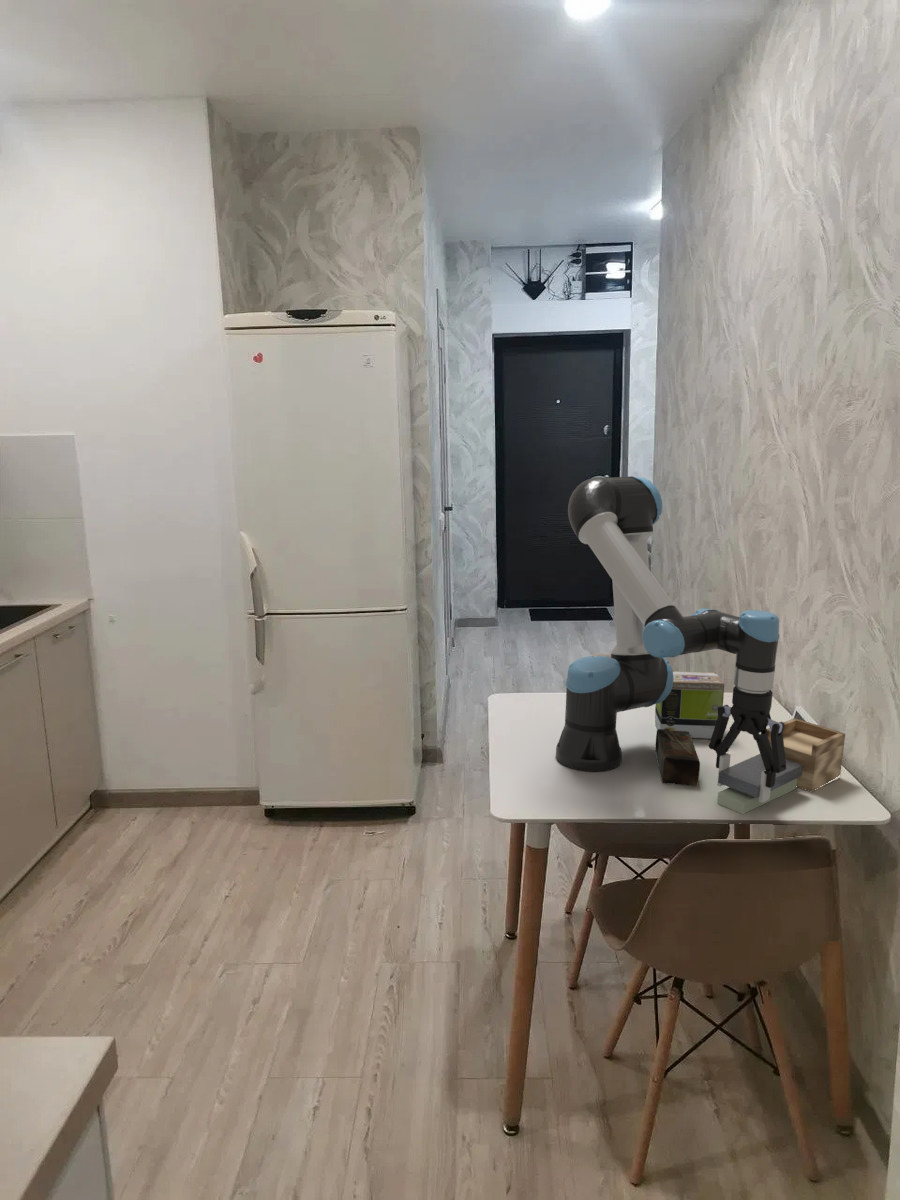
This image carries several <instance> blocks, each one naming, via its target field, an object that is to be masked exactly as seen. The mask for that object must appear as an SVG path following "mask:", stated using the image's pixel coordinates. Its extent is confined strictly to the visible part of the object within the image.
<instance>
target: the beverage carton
mask: <svg viewBox="0 0 900 1200" xmlns="http://www.w3.org/2000/svg"><path fill="white" fill-rule="evenodd" d="M693 742H694V741H693V738H691V737H690V733H689V732H687V731H675V730H670V729H668V728H664V729H656V735H655V748H654V752H655V756H656V757H655V758H656V761H657V765H658V771H659V775H660V779H661V783H662V784H670V785H679V786H687V787H688V786H689V787H690V786H691V787H697V786H698V784H699V778H700V770H701V762H700V759H699V756H698V755H699V754H698V753H697V751H696V747H695V745H694V743H693Z"/></svg>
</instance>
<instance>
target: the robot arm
mask: <svg viewBox="0 0 900 1200" xmlns="http://www.w3.org/2000/svg"><path fill="white" fill-rule="evenodd" d="M660 493H661V492H660V490H659V489H658V488H657V486H656V485H655V484H654V483H653V482H652V481H651V480H650V479H647V478H645V477H640V476H633V475H631V476H628V475H627V476H615V477H593V478H592V477H591V478H588V479H587V480H585V481H582V482H581V483H580V484H579V485H577V486H576V488H575V489H574V490H573V491H572V493H571V495H570V497H569V501H568V505H567V506H568V507H567V516H568V521H569V524H570V526H571V528H572V530H573V532H574V534H575V535H576V537H577V539H578V540H579V541H580V543H582V544H584V545H588V547H589V548H590V549H591V551H592V552H593V554H594V555H595V557H596V558H597V560H598V561H599V562H600V564H601V565H602V567H603V569H605V571H606V573H607V574H608V576H609V577H610V579H611V580H612V593H613V608H614V621H615V623H614V624H615V636H616V638H615V639H616V645H615V646H614V647H613V648H612V649H611V651H610V656H605V655H598V656H597V655H596V656H594V655H590V656H585V657H581V658H578V659H576V660H574V661H573V662H572V663H571V664H570V665H569V666H568V669H567V676H566V680H565V685H566V688H565V689H566V690H565V691H566V692H565V693H566V694H565V711H564V712H565V713H564V715H565V716H564V717H565V719H564V725H563V728H562V732H561V734H560V737H559V740H558V741H557V745H556V747H555V758H556V760H557V761H558V762H559V763H560V764H562V765H563V766H566V767H567V768H571V769H574V770H580V771H585V772H602V771H603V772H605V771H610V770H614V769H616V768H617V767H619V766H620V765H621V764H622V761H623V749H622V747H621V746H620V741H619V737H618V733H617V718H618V717H617V715H618V713H620V712H625V711H630V710H634V709H640V708H648V707H652V706H654V705H656V704H657V703H660V702H662V701H664V700H665V699H666V697H667V696H668V695H669V694H670V692H671V690H672V686H673V679H674V678H673V668H672V665H671V664H669V660H668V659H667V658H675V657H679V656H683V655H687V654H693V653H701V652H707V651H711V650H720V651H724V652H727V653H729V654H733V655H735V666H734V676H733V684H734V687H732V688H733V690H732V699H731V704H732V706H729V705H728V704H723V706H721V707H718V718H717V722H716V725H715V728H714V731H713V734H712V737H711V739H710V740H709V744H708V747H709V749H710V750H713V751H715V753H716V761H715V767H716V769H718V772H717V773H718V774H717V775H718V776H717V780H718V779H719V772H720V771H722V770H724V769H727V768H729V767H731V766H730V765H731V764H730V763H731V757H732V756H731V755H732V754H731V753H729V752H730V750H729V749H730V748H731V747H732V745H733V744H734V742H735V741H736V739H737V737H738V736H739V735H740V733H741V732H743V733H745V732H746V733H747V734H749V735H752V737H753V740H754V741H755V742H756V744H757V748H758V750H759V754H761V757H762V760H763V763H764V767H765V770H764V771H762V774H761V784H760V796H759V802H761V803H763V802H765V801H767V800H769V799H770V790H771V787H773V786H774V785H775V778H776V773H780V772H782V771H784V770H786V759H785V750H784V741H783V730H784V723H783V721H779V722H778V721H776V720H774V719H772V717H771V714H770V712H771V709H772V704H773V703H772V702H773V696H774V695H773V691H772V689H774V682H775V681H774V680H775V673H776V659H777V652H778V645H779V639H780V619H779V617H778V615H776V614H775V613H773V612H770V611H768V610H767V611H764V610H759V609H758V610H757V609H756V610H755V609H751V610H750V609H749V610H747V609H746V610H744V611H742V612H741V613H740V615H739V616H737V615H733V614H730V613H726V612H722V611H720V610H717V609H711V608H698V609H697V610H696V611H695V612H694V613H692V614H691V615H689V616H684V615H682V613H681V612H680V610H679V608H677V607H676V605H675V604H674V602H673V601H672V599H671V598H670V596H669V595H668V594H667V593H666V591H665V590H664V589H663V587H662V585H661V584H660V583H659V582H658V580H657V579H656V577H655V576H654V574H653V573H652V572H651V570H650V565H649V551H648V550H649V549H648V548H649V547H648V541H649V539H650V538H651V536H652V535H653V534H654V525H655V524H656V523H657V522H658V521H659V520H660V516H661V515H662V512H663V500H662V495H661V494H660ZM730 716H731V717H732V719H733V722H732V724H731V725H730V727H729V730H728V731H727V733H726V734H725V732H726V729H727V726H728V723H729V720H730ZM767 727H768V728H770V729H769V731H770V732H771V745H772V748H771V745H770V742H769V739H768V731H767V729H768V728H767ZM724 735H725V736H724ZM716 784H717V786H718V787H723V785H722V784H720V783H718V782H717V783H716Z"/></svg>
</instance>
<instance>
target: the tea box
mask: <svg viewBox="0 0 900 1200" xmlns="http://www.w3.org/2000/svg"><path fill="white" fill-rule="evenodd" d="M673 678H674V679H673V686H672V690H671V692H670V694H669V695H668V696H667V697H666V699H665V700H664V701H662V702H660V703H657V704H655V711H654V714H655V715H654V723H655V726H656V730H658V729H664V728H668V729H670V730H675V731H687V732H689V733H690V737H691V739H710V740H711V737H712V734H713V731H714V728H715V725H716V722H717V718H718V707H721V706H724V698H725V697H724V696H725V683H724V682H723V681H722V678H720V676H719V675H718V674H717V672H713V671H711V672H709V671H678V670H677V671H676V670H675V671H673Z"/></svg>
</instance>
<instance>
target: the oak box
mask: <svg viewBox="0 0 900 1200" xmlns="http://www.w3.org/2000/svg"><path fill="white" fill-rule="evenodd" d="M782 722H783V721H782ZM783 723H784V730H783V741H784V750H785V759H787V760H790V761H793V762H796V763H799V764H802V765H803V769H802V776H801V777H798V778H797V785H796V786H797V787H796V788H799V787H800V789H802V788H803V789H802V790H804V789H806V790H805V791H807V790H809V791H808V792H810V791H813V790H815V789H817V788H819V787H820V786H822V785H824V784H826V783H828V782H829V781H831V780H833V779H835V778H836V777H838V776H839V775H840V776H841V772H842V763H843V756H844V749H845V741H846V733H844V732H841V731H838V730H834V729H832V728H828V727H825V726H821V725H818V724H815V723H813V722H812V723H811V722H808V721H805V720H802V719H799V718H795V717H794V718H792V719H788V720H786V721H784V722H783ZM769 729H770V727H768V728H767V731H768V739H769V742H770V745H771V732H770V731H769ZM771 748H772V745H771ZM819 789H820V788H819ZM817 790H818V789H817ZM815 791H816V790H815ZM813 792H814V791H813Z"/></svg>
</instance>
